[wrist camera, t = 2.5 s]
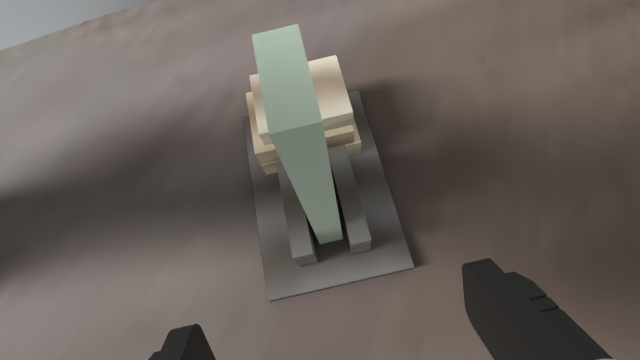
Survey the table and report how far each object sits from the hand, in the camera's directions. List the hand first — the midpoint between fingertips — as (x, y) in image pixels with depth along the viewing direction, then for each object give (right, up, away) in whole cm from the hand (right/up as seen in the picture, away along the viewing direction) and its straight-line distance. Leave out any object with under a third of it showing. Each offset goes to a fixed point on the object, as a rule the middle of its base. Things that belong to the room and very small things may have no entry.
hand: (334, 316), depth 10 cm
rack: (0, +3, +22) cm, 22 cm away
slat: (0, +1, +20) cm, 20 cm away
